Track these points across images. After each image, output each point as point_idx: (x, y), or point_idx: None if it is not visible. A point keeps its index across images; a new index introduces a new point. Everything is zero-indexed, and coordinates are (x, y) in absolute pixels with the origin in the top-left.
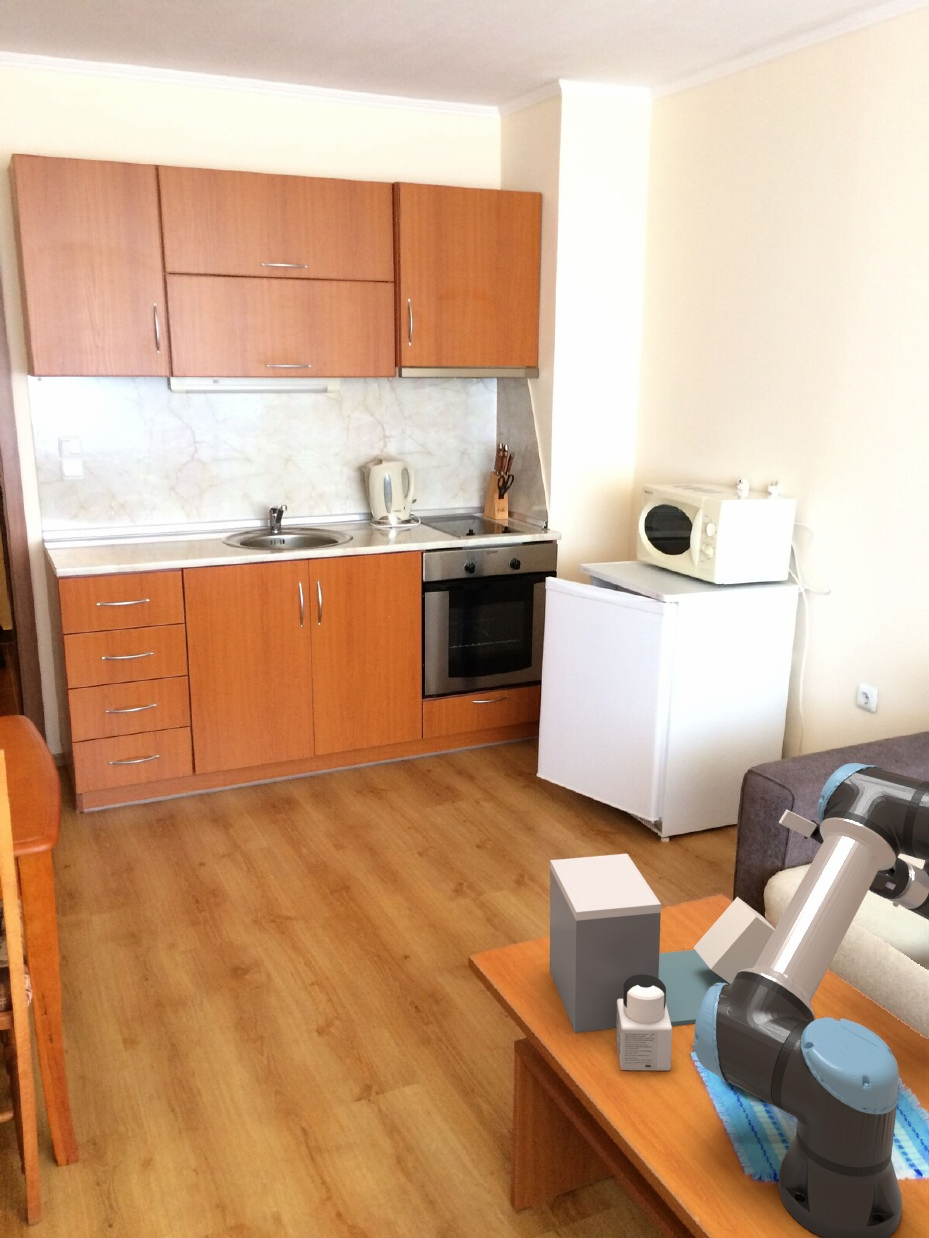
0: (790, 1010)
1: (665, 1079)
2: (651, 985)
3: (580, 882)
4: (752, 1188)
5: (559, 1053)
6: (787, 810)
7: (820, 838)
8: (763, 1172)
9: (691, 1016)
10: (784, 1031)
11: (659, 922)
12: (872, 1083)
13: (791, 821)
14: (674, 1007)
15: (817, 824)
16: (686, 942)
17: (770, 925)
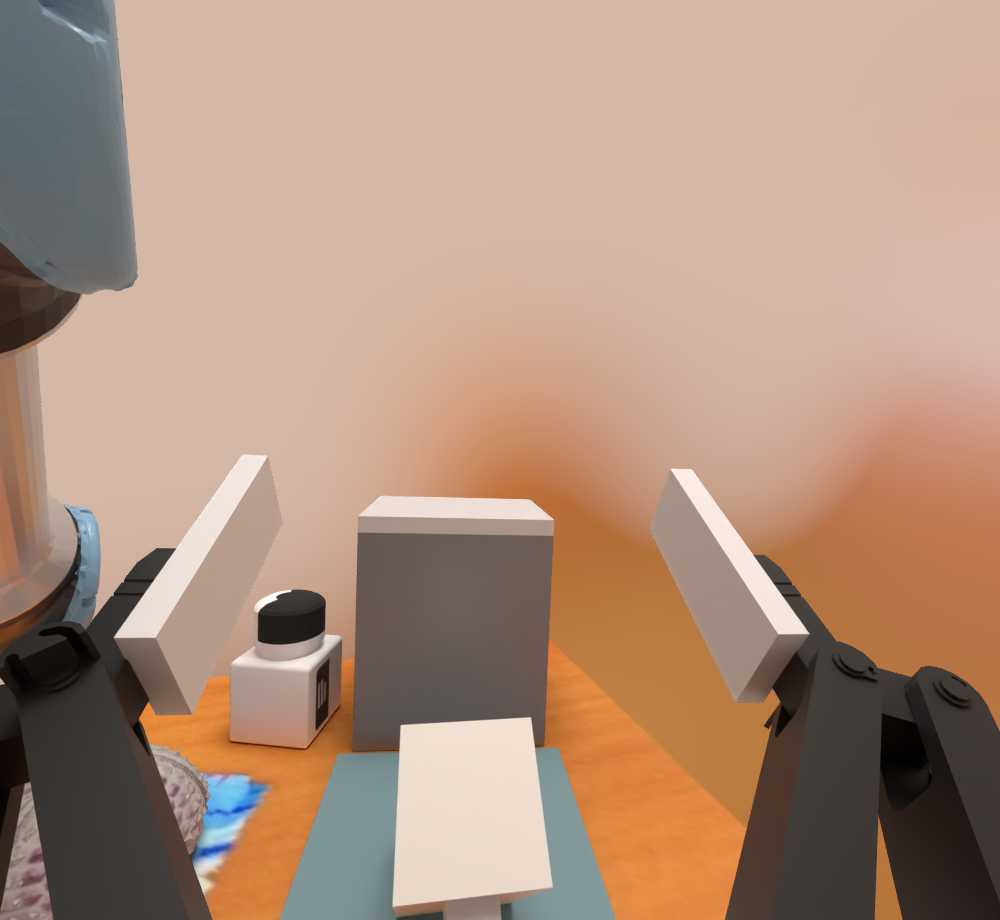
0: None
1: (217, 733)
2: (278, 598)
3: (459, 501)
4: None
5: (344, 661)
6: (679, 470)
7: (770, 759)
8: None
9: (336, 790)
10: None
11: (357, 551)
12: None
13: (677, 535)
14: (375, 772)
15: (853, 669)
16: (650, 872)
17: (465, 872)
